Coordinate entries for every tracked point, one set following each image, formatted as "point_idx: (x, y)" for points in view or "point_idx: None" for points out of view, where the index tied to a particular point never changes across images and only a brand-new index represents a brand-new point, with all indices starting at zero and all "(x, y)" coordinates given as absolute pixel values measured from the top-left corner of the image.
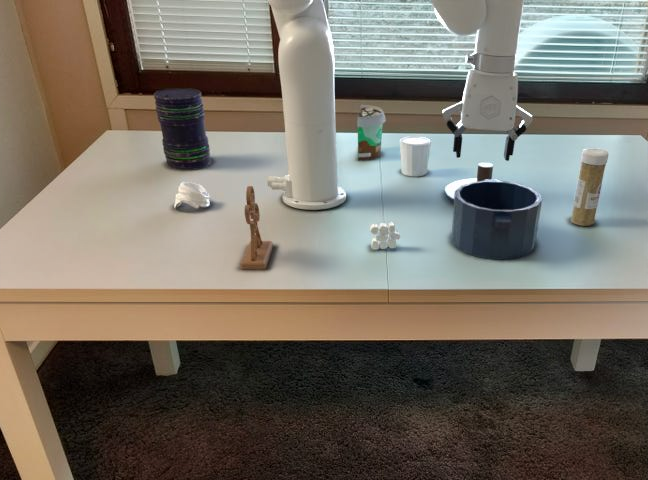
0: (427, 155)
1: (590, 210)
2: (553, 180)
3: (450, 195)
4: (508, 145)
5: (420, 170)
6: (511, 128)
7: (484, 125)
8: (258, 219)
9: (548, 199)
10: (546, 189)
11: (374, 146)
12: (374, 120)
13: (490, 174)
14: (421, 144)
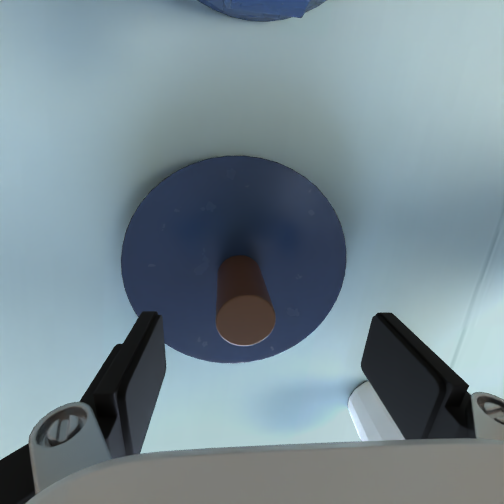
0: (377, 434)
1: None
2: (28, 394)
3: (338, 238)
4: (129, 367)
5: (374, 392)
6: (38, 495)
7: (388, 488)
8: None
9: (37, 260)
10: (46, 334)
11: None
12: None
13: (225, 287)
14: None
